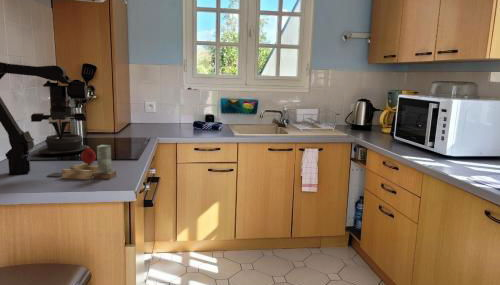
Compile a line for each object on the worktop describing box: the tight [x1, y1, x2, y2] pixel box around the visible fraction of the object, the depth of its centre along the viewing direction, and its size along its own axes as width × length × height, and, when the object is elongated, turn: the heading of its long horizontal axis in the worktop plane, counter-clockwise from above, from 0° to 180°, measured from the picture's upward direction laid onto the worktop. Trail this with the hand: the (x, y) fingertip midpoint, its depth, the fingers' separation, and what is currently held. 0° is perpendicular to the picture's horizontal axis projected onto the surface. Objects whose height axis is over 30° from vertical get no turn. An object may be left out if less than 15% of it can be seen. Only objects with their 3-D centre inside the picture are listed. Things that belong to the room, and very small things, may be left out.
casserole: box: [37, 133, 90, 156], centre depth 189 cm, size 25×19×8 cm
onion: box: [80, 146, 97, 166], centre depth 164 cm, size 6×6×8 cm
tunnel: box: [61, 162, 98, 180], centre depth 145 cm, size 11×8×4 cm
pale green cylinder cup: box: [92, 144, 117, 180], centre depth 144 cm, size 7×5×12 cm
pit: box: [46, 172, 62, 178], centre depth 145 cm, size 5×5×1 cm
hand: (60, 139), depth 149 cm, fingers closed
